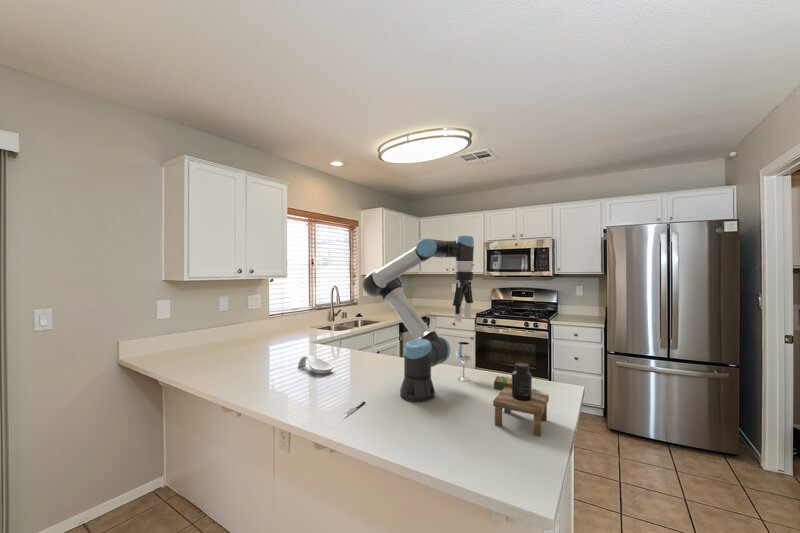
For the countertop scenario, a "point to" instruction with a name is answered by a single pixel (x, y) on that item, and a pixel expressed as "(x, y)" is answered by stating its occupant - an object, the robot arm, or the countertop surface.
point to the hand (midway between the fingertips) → (463, 319)
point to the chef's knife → (354, 409)
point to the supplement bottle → (521, 382)
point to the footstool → (522, 407)
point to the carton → (502, 383)
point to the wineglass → (463, 356)
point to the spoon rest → (316, 364)
